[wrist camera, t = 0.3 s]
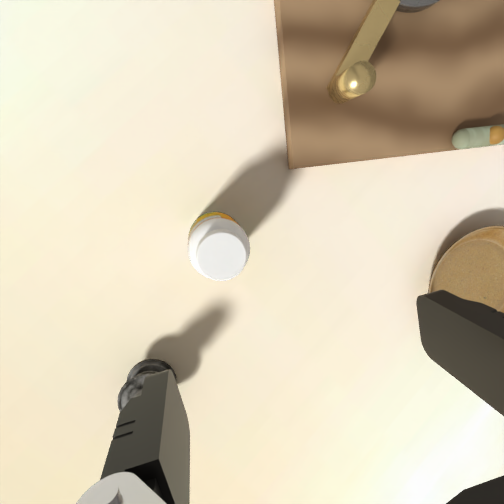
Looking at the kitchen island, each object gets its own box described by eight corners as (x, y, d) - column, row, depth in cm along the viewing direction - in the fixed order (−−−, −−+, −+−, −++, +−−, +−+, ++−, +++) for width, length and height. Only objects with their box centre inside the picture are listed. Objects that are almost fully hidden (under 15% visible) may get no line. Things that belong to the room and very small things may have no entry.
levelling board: (267, -80, 33) (278, -120, 28) (522, -86, 36) (567, -123, 32) (288, 169, 38) (301, 168, 33) (511, 143, 41) (550, 139, 37)
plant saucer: (545, 254, 45) (566, 258, 43) (484, 355, 47) (500, 366, 44) (455, 201, 42) (472, 203, 39) (393, 313, 43) (405, 321, 41)
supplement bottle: (247, 250, 39) (265, 275, 29) (200, 269, 38) (202, 300, 29) (229, 203, 38) (242, 212, 28) (180, 222, 37) (176, 238, 28)
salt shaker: (112, 383, 39) (78, 469, 28) (151, 346, 39) (134, 417, 28) (152, 415, 41) (136, 509, 29) (190, 379, 41) (189, 460, 29)
